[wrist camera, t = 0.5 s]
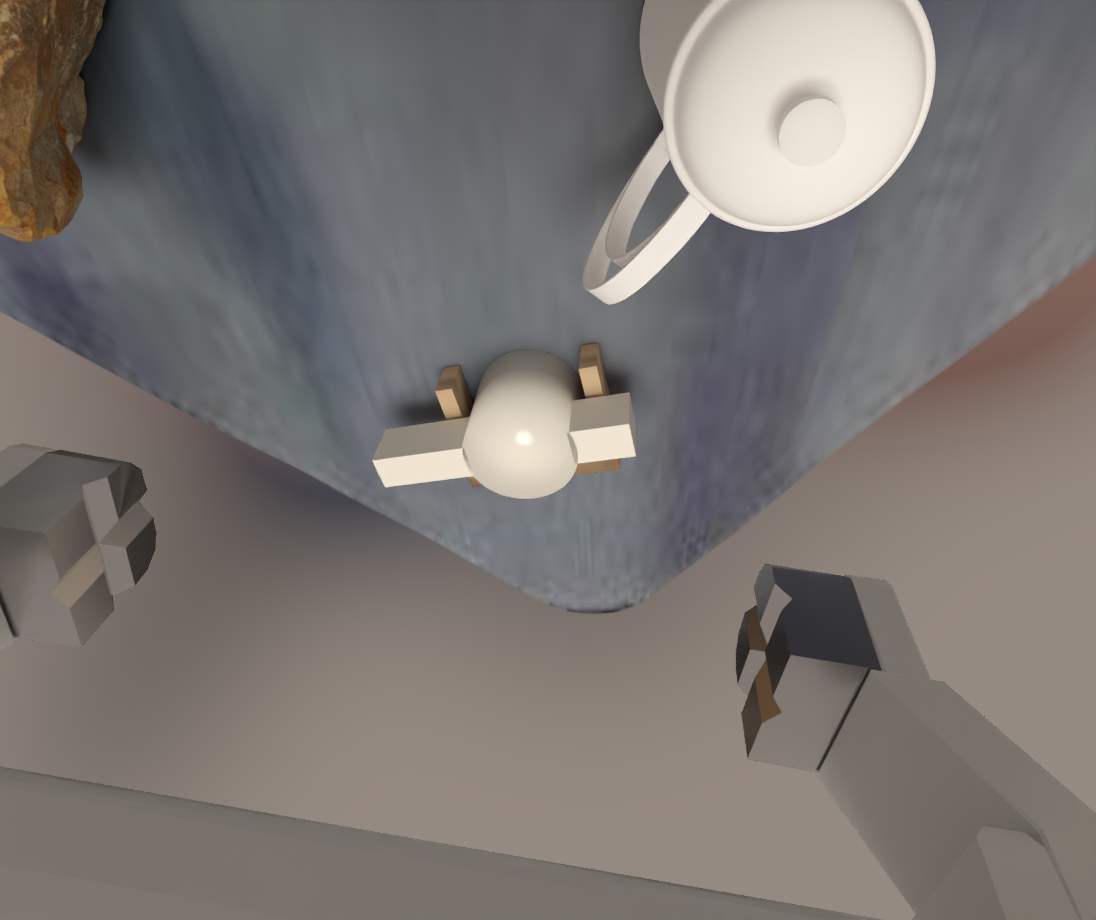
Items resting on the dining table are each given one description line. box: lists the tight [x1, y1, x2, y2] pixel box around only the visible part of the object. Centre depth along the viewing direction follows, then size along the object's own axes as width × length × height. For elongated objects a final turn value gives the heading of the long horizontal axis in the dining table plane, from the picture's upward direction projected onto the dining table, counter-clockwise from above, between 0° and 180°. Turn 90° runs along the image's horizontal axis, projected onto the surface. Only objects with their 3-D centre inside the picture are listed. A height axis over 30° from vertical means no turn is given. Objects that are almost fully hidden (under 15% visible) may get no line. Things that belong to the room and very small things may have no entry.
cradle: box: [435, 343, 620, 487], centre depth 54 cm, size 9×11×3 cm
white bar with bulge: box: [372, 350, 636, 499], centre depth 52 cm, size 8×17×7 cm, turn 104°
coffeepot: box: [582, 0, 935, 304], centre depth 31 cm, size 11×25×19 cm, turn 144°
